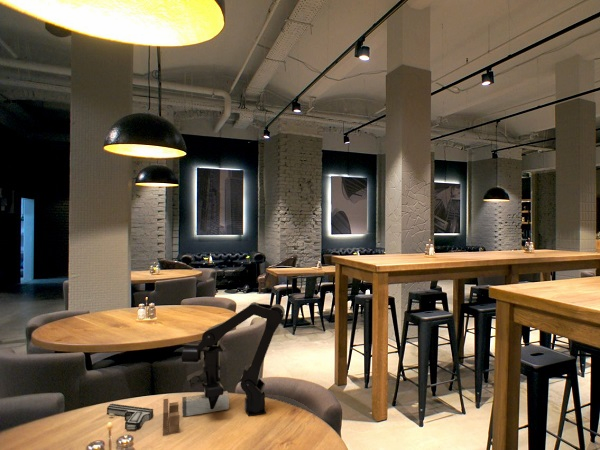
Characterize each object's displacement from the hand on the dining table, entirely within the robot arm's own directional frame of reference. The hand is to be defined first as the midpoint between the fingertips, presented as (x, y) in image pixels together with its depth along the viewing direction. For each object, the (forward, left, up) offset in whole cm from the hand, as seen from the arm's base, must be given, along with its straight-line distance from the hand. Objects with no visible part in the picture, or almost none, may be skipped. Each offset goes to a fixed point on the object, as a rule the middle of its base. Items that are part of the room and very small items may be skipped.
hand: (211, 406), depth 135 cm
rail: (+2, 0, -1) cm, 2 cm away
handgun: (+29, -3, -2) cm, 30 cm away
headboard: (+13, +7, -1) cm, 15 cm away
